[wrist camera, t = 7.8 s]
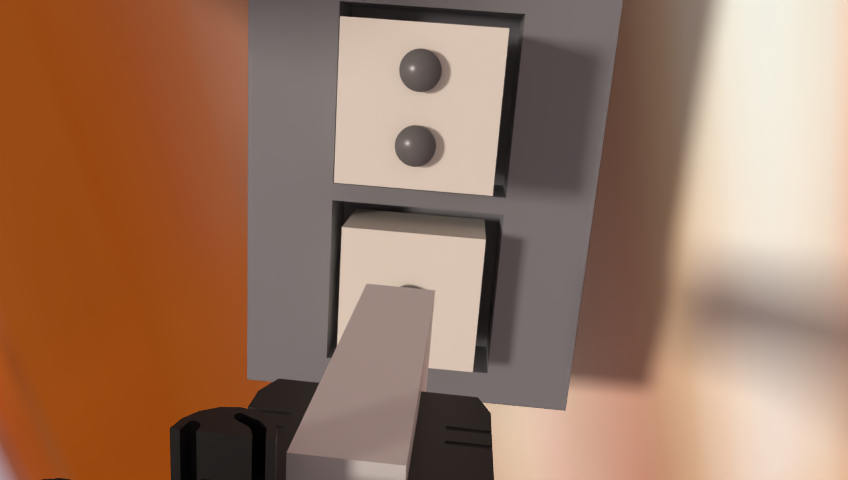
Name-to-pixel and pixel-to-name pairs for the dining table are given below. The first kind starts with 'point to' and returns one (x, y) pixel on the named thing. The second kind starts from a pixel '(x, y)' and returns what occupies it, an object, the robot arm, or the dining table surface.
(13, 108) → the dining table surface
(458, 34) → the cream square block
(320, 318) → the grey dice tray
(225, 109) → the dining table surface
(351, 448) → the robot arm
